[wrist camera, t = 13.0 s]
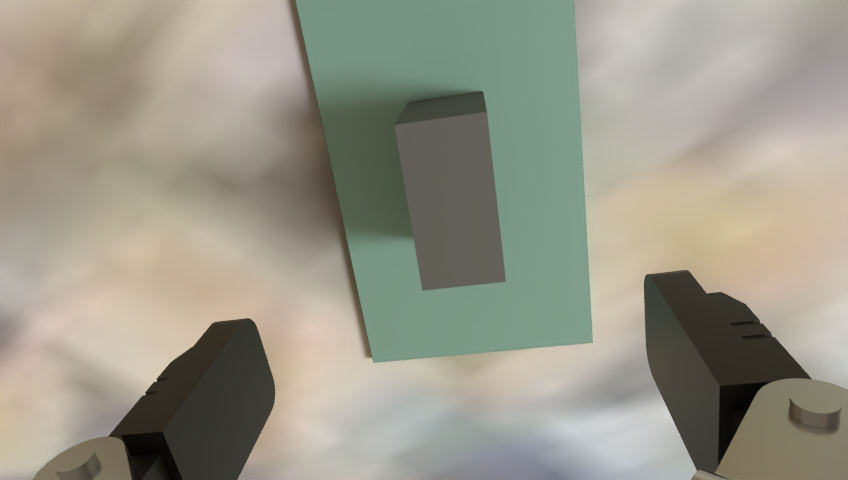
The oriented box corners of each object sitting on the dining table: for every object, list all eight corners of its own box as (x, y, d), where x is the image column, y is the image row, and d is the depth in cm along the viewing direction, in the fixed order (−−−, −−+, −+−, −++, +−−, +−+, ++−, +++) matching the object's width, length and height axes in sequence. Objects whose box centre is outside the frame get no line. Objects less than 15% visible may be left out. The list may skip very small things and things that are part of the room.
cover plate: (564, -93, 21) (598, -129, 16) (588, 331, 28) (618, 412, 22) (293, -44, 23) (235, -61, 17) (376, 351, 29) (354, 432, 23)
